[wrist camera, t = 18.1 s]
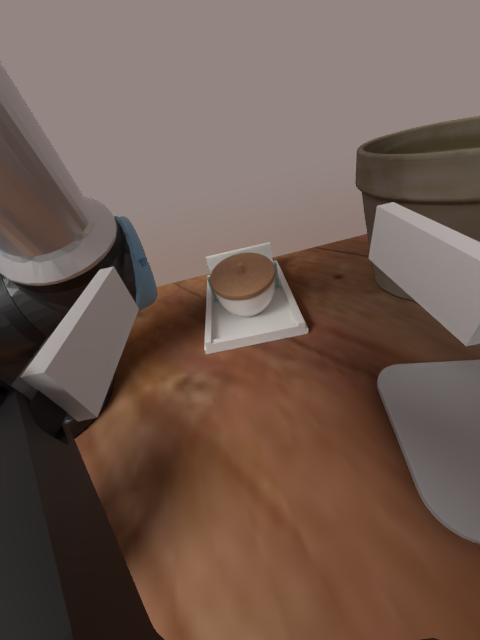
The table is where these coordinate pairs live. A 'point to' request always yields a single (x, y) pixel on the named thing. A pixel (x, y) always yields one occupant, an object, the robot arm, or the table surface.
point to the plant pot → (423, 178)
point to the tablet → (439, 436)
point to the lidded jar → (244, 283)
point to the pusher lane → (260, 328)
